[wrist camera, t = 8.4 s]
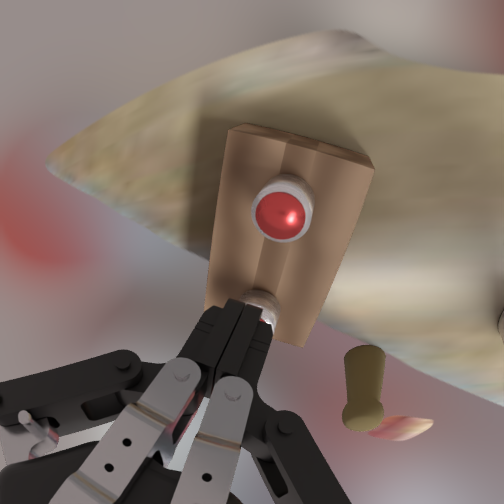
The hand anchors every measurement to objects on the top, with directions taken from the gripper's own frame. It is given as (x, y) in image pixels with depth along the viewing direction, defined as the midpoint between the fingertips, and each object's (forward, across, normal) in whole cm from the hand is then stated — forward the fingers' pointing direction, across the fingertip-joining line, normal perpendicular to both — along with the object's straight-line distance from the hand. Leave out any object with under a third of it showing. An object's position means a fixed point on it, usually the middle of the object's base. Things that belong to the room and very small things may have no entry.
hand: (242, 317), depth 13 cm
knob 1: (+17, 0, +12) cm, 21 cm away
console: (+19, 0, +6) cm, 20 cm away
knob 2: (+17, 0, 0) cm, 17 cm away
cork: (+20, -15, +21) cm, 33 cm away
